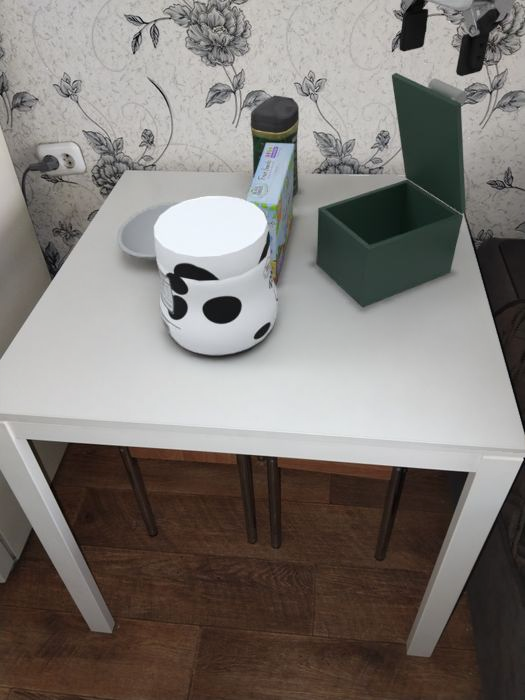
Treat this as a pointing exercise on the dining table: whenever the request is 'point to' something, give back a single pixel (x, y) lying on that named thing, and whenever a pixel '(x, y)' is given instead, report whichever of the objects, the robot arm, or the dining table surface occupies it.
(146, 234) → the dish
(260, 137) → the coffee jar
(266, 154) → the snack box
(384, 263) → the bin
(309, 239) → the dining table surface
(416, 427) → the dining table surface
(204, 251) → the doce de leite jar
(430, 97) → the bin lid
